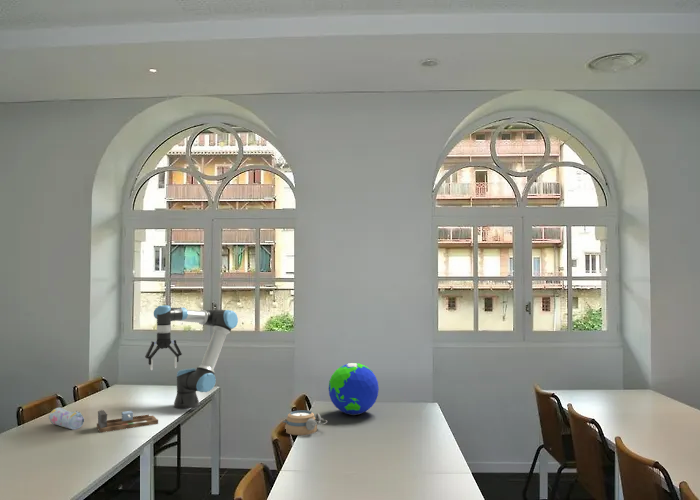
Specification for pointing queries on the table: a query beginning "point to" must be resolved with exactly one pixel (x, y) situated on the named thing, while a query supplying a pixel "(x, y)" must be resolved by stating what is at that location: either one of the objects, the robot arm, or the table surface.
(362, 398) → the globe
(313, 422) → the alarm clock
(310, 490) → the table surface
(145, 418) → the board
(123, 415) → the blue grey block
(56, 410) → the pencil case
